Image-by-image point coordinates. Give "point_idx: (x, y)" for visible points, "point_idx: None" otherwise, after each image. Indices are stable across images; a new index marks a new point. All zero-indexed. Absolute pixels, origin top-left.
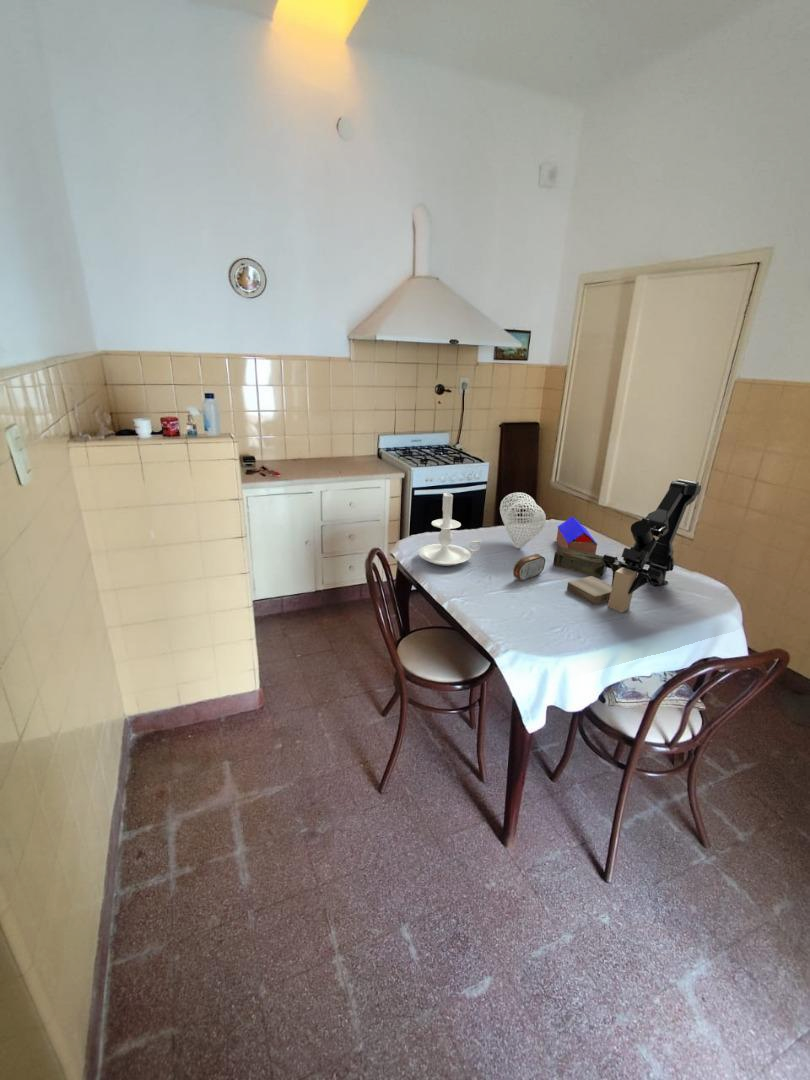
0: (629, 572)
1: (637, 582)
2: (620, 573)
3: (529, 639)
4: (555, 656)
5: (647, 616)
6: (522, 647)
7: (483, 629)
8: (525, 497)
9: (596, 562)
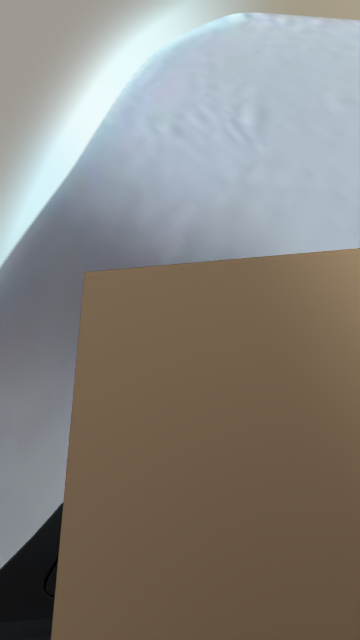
0: (261, 526)
1: (40, 539)
2: (348, 253)
3: (253, 55)
4: (163, 53)
5: (34, 520)
6: (236, 34)
7: (349, 22)
8: None
9: None
